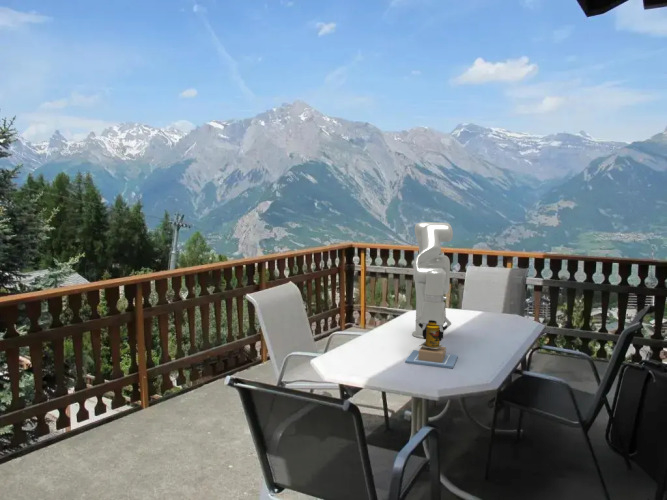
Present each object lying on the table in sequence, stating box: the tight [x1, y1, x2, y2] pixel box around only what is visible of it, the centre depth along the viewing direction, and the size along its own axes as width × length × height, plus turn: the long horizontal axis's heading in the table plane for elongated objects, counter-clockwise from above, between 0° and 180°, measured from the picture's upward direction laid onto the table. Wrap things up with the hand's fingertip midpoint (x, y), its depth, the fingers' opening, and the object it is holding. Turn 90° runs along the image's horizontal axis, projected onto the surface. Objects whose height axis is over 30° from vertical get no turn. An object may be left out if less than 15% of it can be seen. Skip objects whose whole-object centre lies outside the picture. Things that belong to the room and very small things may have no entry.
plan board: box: [404, 346, 459, 370], centre depth 221 cm, size 18×20×5 cm
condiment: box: [418, 320, 443, 349], centre depth 221 cm, size 7×8×12 cm
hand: (432, 338), depth 221 cm, fingers closed on condiment, 6 cm apart
